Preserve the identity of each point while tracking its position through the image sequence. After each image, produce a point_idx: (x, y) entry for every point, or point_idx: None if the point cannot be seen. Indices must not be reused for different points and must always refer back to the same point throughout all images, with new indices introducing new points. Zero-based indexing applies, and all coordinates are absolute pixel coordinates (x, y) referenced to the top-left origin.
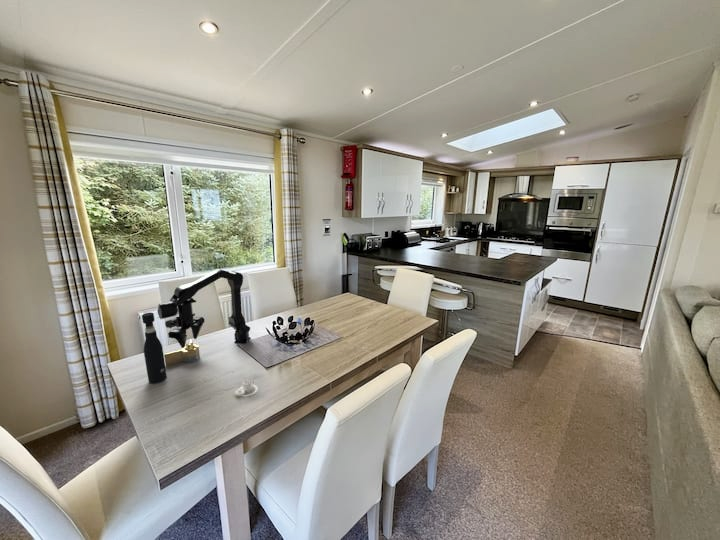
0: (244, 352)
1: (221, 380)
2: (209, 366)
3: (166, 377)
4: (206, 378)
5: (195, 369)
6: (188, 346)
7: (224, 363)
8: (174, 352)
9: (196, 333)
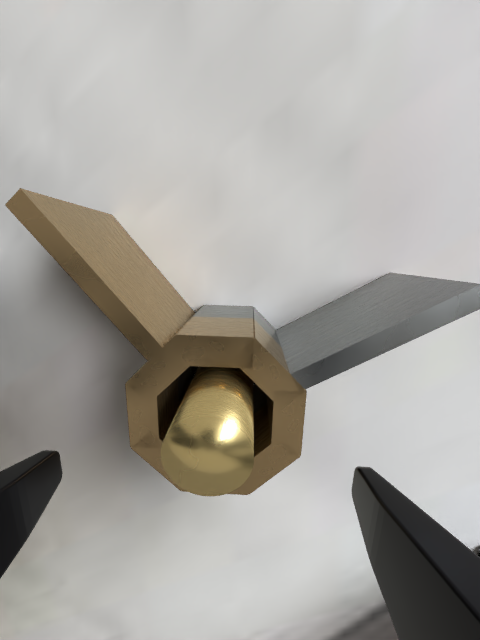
0: (329, 633)
1: (35, 617)
2: (149, 517)
3: None
4: (33, 551)
5: (103, 457)
6: (167, 454)
7: (192, 578)
8: (92, 298)
9: (412, 637)
